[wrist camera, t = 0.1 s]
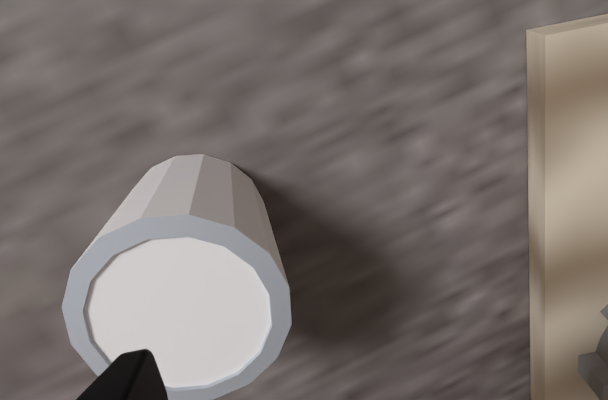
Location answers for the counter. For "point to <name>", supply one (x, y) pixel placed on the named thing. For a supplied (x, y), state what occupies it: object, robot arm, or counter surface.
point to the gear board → (568, 209)
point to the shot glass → (184, 281)
